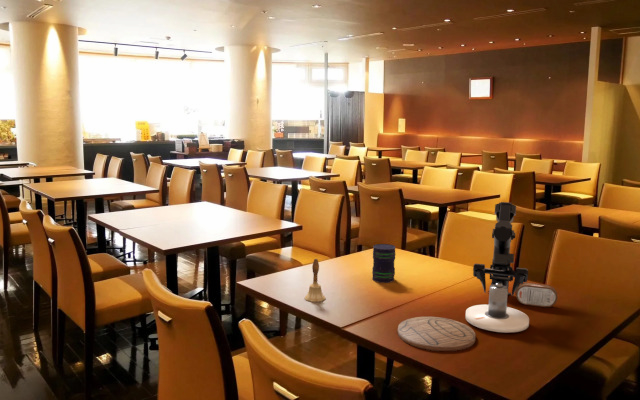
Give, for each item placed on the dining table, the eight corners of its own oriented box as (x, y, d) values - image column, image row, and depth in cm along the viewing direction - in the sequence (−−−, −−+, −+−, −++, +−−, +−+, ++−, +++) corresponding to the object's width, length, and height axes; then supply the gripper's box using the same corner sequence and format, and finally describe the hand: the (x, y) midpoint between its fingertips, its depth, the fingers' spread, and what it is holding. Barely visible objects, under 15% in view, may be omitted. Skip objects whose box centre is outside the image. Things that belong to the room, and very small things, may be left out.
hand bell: (307, 294, 213) (307, 255, 211) (327, 296, 211) (327, 257, 209) (302, 301, 205) (302, 261, 203) (323, 303, 203) (323, 262, 201)
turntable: (498, 306, 199) (498, 301, 198) (542, 326, 180) (542, 320, 180) (453, 314, 190) (453, 309, 190) (494, 336, 171) (495, 330, 171)
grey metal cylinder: (499, 311, 188) (501, 280, 187) (509, 317, 183) (511, 285, 181) (484, 312, 187) (486, 281, 185) (494, 318, 181) (496, 287, 180)
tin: (556, 306, 203) (558, 285, 201) (557, 309, 200) (558, 287, 198) (514, 301, 207) (516, 281, 206) (514, 304, 204) (516, 283, 203)
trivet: (425, 358, 158) (426, 352, 158) (383, 327, 181) (383, 322, 181) (491, 345, 168) (492, 339, 168) (443, 317, 191) (444, 312, 190)
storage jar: (398, 278, 235) (399, 245, 233) (388, 284, 227) (389, 250, 225) (378, 274, 241) (379, 242, 238) (368, 280, 232) (369, 247, 230)
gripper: (475, 242, 193) (470, 279, 185) (529, 246, 187) (528, 286, 179) (475, 257, 202) (471, 294, 193) (527, 262, 196) (526, 300, 187)
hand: (498, 293), depth 188 cm, fingers open, 9 cm apart
